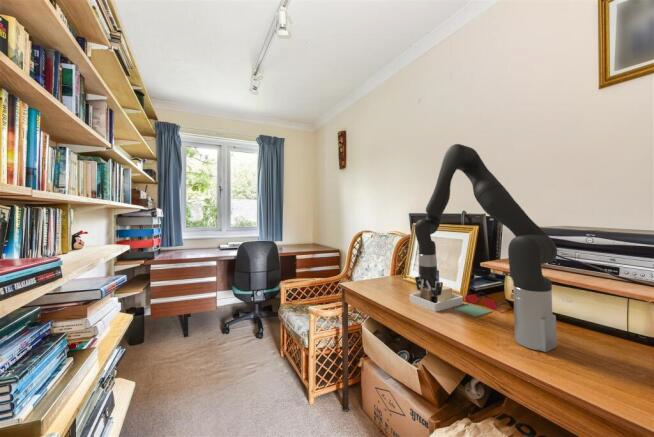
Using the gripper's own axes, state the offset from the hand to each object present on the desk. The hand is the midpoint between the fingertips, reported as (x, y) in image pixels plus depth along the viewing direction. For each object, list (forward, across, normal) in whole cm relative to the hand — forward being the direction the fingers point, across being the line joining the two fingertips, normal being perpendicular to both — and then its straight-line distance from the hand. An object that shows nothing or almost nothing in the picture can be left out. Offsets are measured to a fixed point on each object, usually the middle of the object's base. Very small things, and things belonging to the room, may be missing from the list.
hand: (429, 302), depth 116 cm
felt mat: (+1, -14, -9) cm, 17 cm away
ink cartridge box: (+1, +12, -13) cm, 18 cm away
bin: (+1, 0, -4) cm, 4 cm away
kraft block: (+1, 0, -9) cm, 9 cm away
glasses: (+2, -12, -24) cm, 27 cm away
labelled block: (+1, 0, 0) cm, 1 cm away
